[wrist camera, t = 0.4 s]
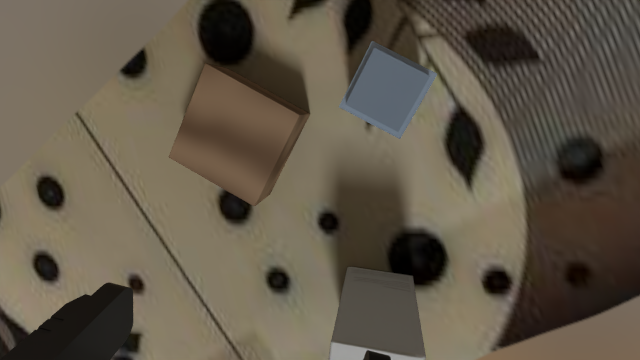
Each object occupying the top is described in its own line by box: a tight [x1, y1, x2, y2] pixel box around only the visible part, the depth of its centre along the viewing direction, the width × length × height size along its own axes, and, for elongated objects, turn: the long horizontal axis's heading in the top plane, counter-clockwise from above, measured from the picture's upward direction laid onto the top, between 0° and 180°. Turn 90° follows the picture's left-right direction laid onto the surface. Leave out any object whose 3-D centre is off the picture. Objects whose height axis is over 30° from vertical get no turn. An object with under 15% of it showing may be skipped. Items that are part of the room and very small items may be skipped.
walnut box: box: [169, 63, 310, 206], centre depth 35 cm, size 10×10×5 cm
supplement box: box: [329, 267, 426, 360], centre depth 32 cm, size 7×7×13 cm
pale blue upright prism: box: [339, 41, 437, 139], centre depth 28 cm, size 5×5×11 cm
